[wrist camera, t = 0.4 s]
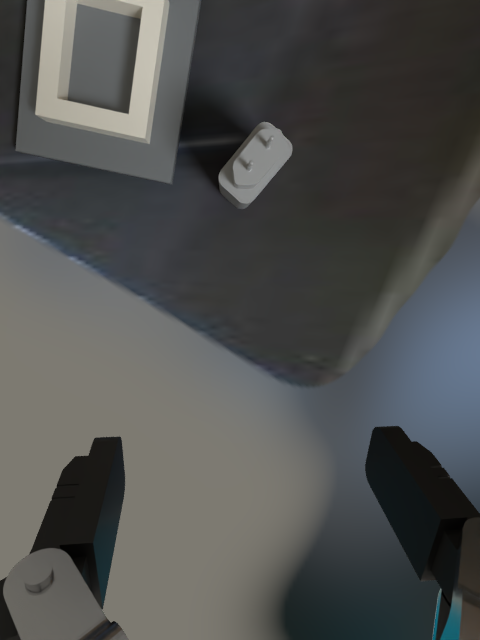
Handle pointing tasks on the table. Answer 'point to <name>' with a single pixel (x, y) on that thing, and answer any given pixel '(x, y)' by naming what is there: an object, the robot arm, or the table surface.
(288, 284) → the table surface
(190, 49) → the docking plate
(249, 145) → the power adapter
